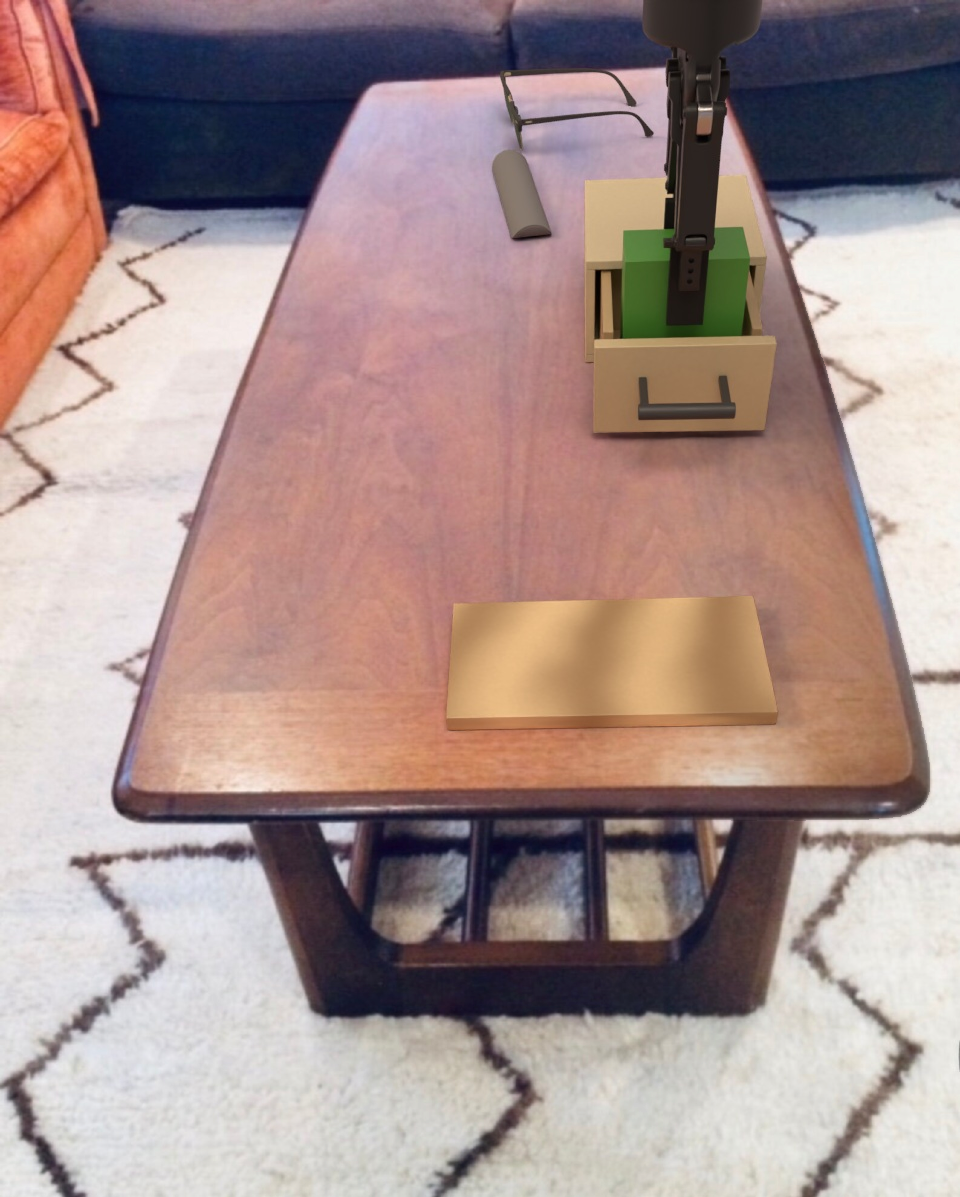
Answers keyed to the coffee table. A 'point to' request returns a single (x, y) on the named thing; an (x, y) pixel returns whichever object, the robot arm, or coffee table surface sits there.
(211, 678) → the coffee table surface
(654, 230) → the tall green block
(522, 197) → the half round rod
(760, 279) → the cabinet
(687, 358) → the drawer
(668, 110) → the robot arm
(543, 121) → the sunglasses
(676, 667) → the board
